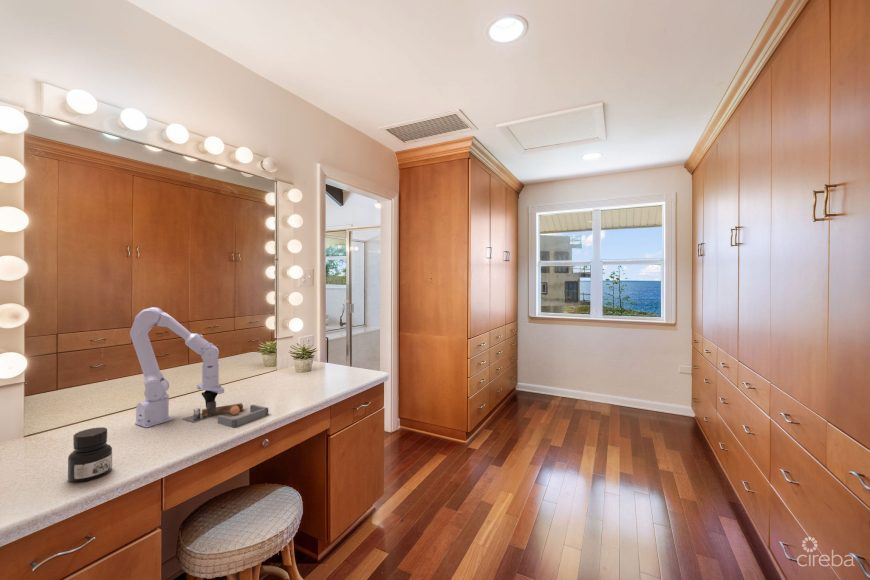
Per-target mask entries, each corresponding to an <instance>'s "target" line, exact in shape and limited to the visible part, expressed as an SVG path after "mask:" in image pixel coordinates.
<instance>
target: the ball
mask: <svg viewBox="0 0 870 580" xmlns="http://www.w3.org/2000/svg"><path fill="white" fill-rule="evenodd" d="M240 411H241V410H240V409H239V407H238V406H233V407H232V408H231V409H230V412H229V413H230V414H231V415H233V416H234V415H236V416H237V415H238V414H239V413H240Z"/></svg>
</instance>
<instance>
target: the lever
mask: <svg viewBox="0 0 870 580" xmlns="http://www.w3.org/2000/svg"><path fill="white" fill-rule="evenodd" d="M233 406H238V407H239V409H240V411H241V412H243V410H244V405H243V402H241V403H240V402H239V403H234V404H228V405H227V404H226V405H222V406H217V401H216V400H215V401H212V402H207V408H204V409H203V408H202V409H201V413H202V416H207V415H208V416H213V415H214V416H215V415H217V414H219V415H220V414H223V413H230V409H231V408H232V407H233Z"/></svg>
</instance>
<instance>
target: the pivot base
mask: <svg viewBox="0 0 870 580" xmlns="http://www.w3.org/2000/svg"><path fill="white" fill-rule="evenodd" d="M211 417H212V415H209V416H208V415H207V416H202V412H201V408H199V407H198V408H194V409H193V414H192V415H190V416H187V417H184V418H182V419H181V420H183V421H186V422H190V423H197V422H199V421H203V420H206V419H208V418H211Z"/></svg>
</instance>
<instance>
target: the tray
mask: <svg viewBox="0 0 870 580" xmlns="http://www.w3.org/2000/svg"><path fill="white" fill-rule="evenodd" d="M266 416H269V408H268V407H265V406H260V405H256V404H251V405H250V413H248V414H247V413H246V414H245V415H241V416H238V417H236V418H233V417H230V416H225V415H222V414H221V415H220V414H219V415H217V424H219V425H222V426H225V427H226V426H227V427H229V428H233V429H234V428H236V427H240V426H242V425H245V424H248V423H251V422H252V421H256V420H259V419H261V418H263V417H266Z"/></svg>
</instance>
